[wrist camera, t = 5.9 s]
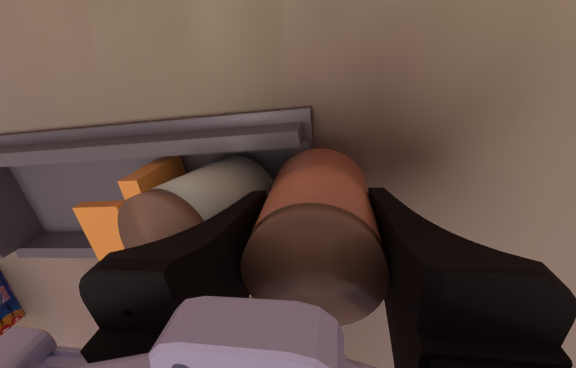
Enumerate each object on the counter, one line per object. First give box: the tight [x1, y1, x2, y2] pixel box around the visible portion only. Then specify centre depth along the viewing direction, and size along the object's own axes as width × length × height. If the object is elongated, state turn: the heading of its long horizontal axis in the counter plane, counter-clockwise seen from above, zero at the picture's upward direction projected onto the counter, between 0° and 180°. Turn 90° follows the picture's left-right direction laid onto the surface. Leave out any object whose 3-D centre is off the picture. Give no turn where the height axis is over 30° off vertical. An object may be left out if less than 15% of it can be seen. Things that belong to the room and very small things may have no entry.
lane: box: [0, 106, 314, 258], centre depth 16 cm, size 9×22×4 cm, turn 97°
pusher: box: [72, 155, 186, 261], centre depth 15 cm, size 5×3×5 cm, turn 7°
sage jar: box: [118, 155, 274, 249], centre depth 13 cm, size 5×5×6 cm
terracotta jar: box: [241, 148, 390, 326], centre depth 11 cm, size 5×5×6 cm
